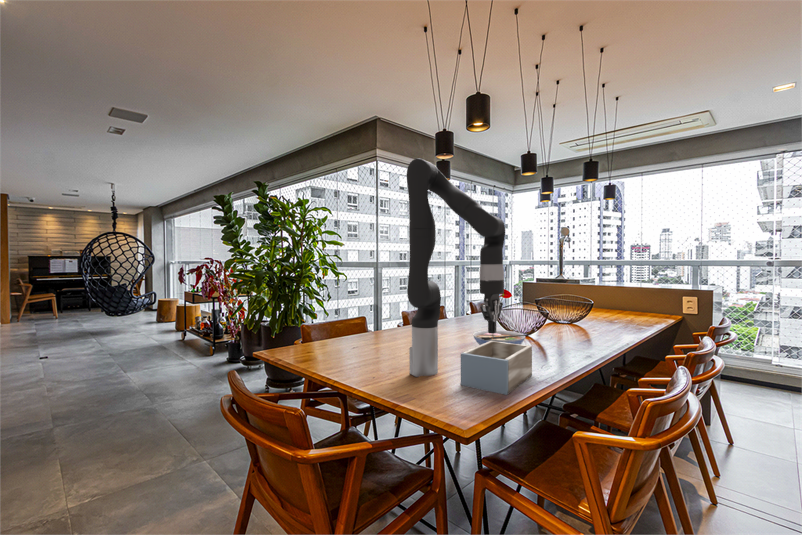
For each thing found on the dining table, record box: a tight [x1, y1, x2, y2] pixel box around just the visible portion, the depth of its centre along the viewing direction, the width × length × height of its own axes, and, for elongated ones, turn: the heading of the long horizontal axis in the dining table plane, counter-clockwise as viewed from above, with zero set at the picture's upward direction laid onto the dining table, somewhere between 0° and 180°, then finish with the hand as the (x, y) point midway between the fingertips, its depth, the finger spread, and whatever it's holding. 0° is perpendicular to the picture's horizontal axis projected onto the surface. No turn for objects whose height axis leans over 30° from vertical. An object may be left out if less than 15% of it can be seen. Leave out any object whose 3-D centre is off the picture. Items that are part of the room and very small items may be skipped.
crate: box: [462, 341, 533, 395], centre depth 124 cm, size 15×22×11 cm
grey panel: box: [460, 352, 509, 396], centre depth 115 cm, size 15×1×11 cm, turn 54°
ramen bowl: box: [472, 329, 532, 346], centre depth 167 cm, size 25×23×8 cm
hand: (492, 333), depth 120 cm, fingers closed
